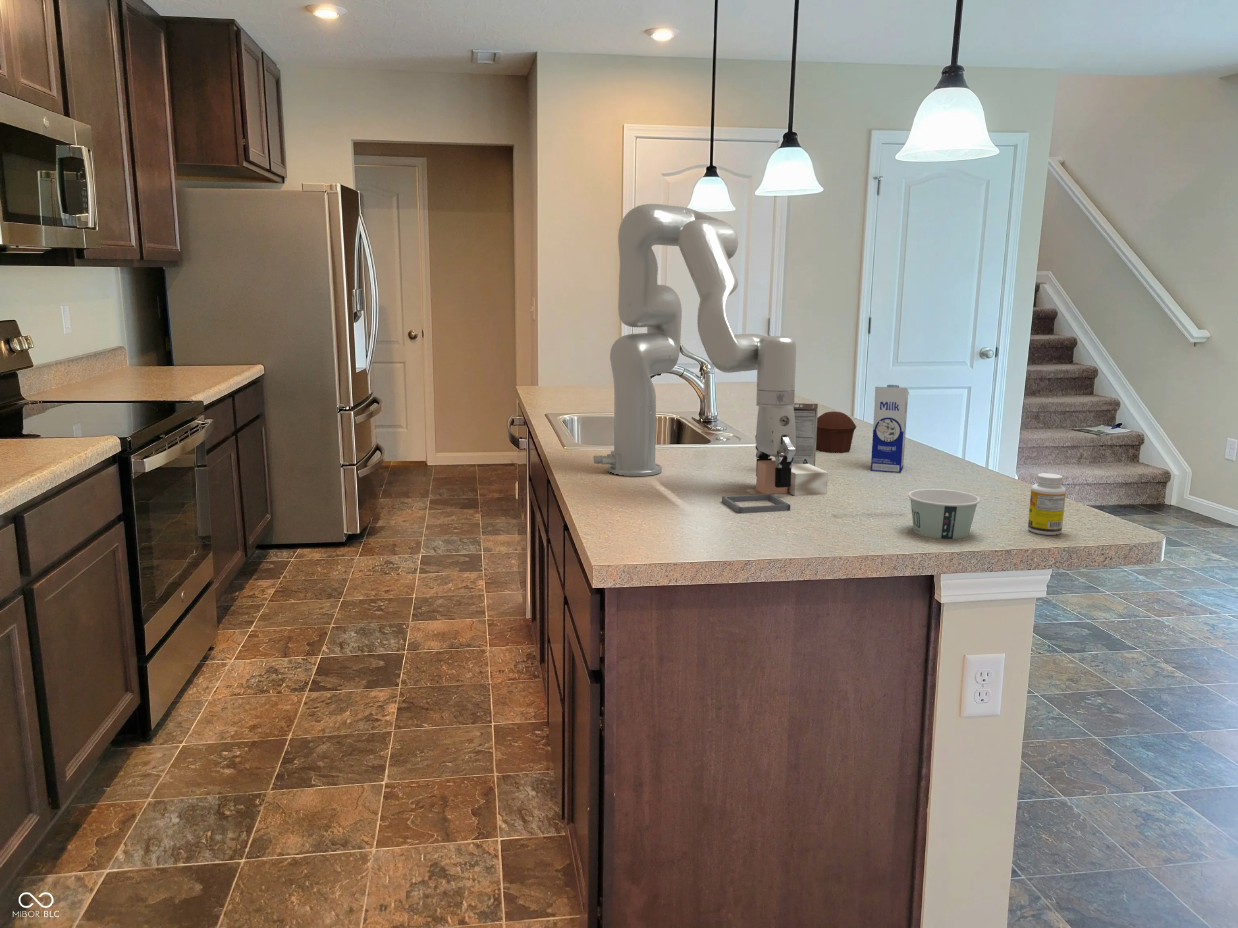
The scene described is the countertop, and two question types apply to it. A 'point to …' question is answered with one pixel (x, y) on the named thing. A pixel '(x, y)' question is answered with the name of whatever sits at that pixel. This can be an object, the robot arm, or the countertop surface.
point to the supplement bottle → (1047, 505)
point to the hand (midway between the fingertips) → (773, 482)
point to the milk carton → (889, 428)
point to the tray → (754, 509)
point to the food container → (942, 512)
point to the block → (767, 478)
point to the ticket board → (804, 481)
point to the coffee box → (805, 433)
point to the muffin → (834, 432)
